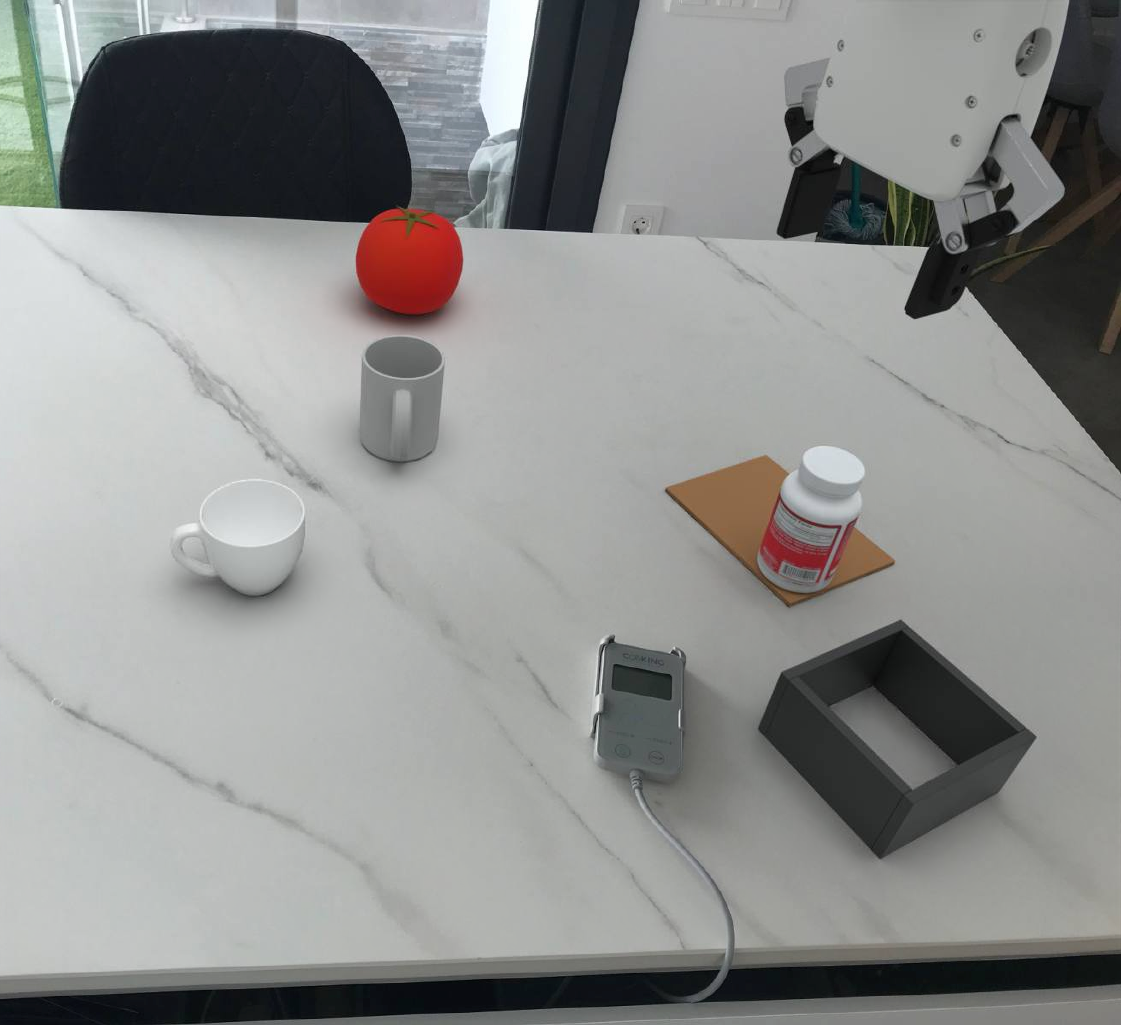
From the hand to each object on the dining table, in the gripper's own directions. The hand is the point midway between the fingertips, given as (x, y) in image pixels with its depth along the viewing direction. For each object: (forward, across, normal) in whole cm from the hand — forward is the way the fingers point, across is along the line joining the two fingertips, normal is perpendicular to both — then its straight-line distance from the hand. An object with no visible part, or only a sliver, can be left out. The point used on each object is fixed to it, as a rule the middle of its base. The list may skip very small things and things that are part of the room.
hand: (859, 270), depth 60 cm
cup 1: (+32, +23, +29) cm, 49 cm away
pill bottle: (+32, +5, -12) cm, 35 cm away
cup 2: (+32, +33, +10) cm, 47 cm away
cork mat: (+32, +10, -15) cm, 37 cm away
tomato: (+32, +56, -3) cm, 65 cm away
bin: (+32, -12, -4) cm, 35 cm away
